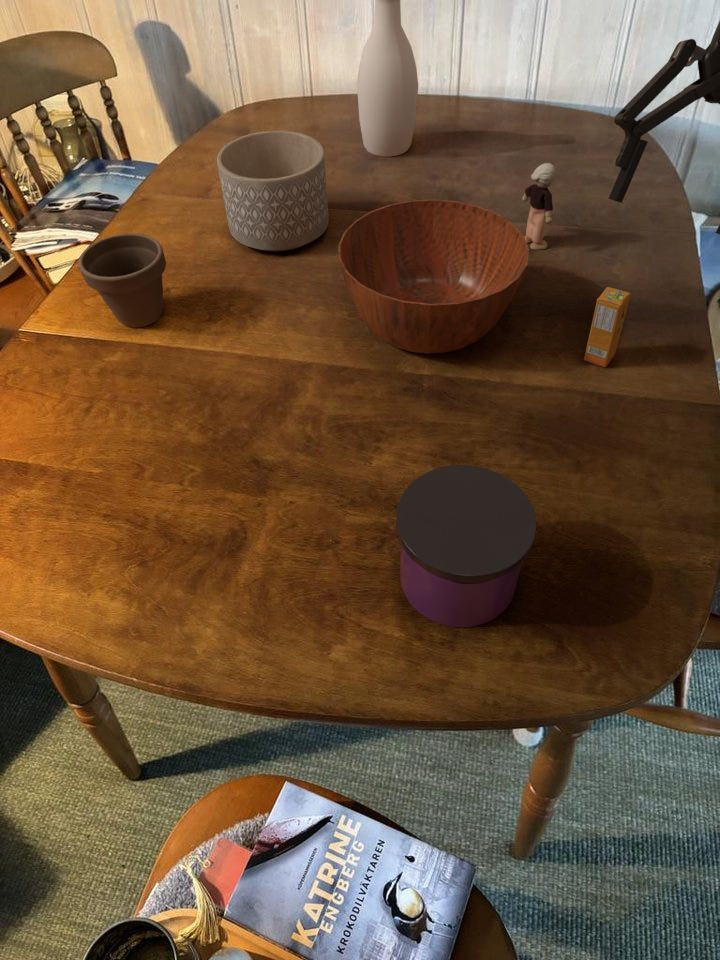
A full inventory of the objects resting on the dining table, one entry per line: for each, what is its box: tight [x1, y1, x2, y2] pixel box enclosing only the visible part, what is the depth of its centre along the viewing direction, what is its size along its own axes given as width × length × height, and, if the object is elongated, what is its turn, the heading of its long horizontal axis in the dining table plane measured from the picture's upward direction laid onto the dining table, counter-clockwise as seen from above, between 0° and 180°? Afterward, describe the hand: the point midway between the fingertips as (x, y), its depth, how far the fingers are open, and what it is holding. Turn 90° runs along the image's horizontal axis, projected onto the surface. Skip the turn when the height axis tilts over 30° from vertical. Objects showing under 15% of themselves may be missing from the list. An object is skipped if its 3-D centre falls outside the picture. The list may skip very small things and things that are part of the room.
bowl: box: [337, 198, 530, 355], centre depth 99 cm, size 25×25×11 cm
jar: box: [395, 464, 538, 628], centre depth 71 cm, size 13×13×10 cm
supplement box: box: [583, 286, 631, 368], centre depth 93 cm, size 3×3×10 cm
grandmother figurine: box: [522, 162, 556, 251], centre depth 110 cm, size 8×4×13 cm, turn 34°
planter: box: [216, 130, 330, 252], centre depth 115 cm, size 16×16×13 cm
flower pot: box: [78, 232, 167, 328], centre depth 102 cm, size 12×11×10 cm
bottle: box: [356, 0, 419, 158], centre depth 128 cm, size 11×11×25 cm
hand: (669, 218), depth 82 cm, fingers open, 13 cm apart
